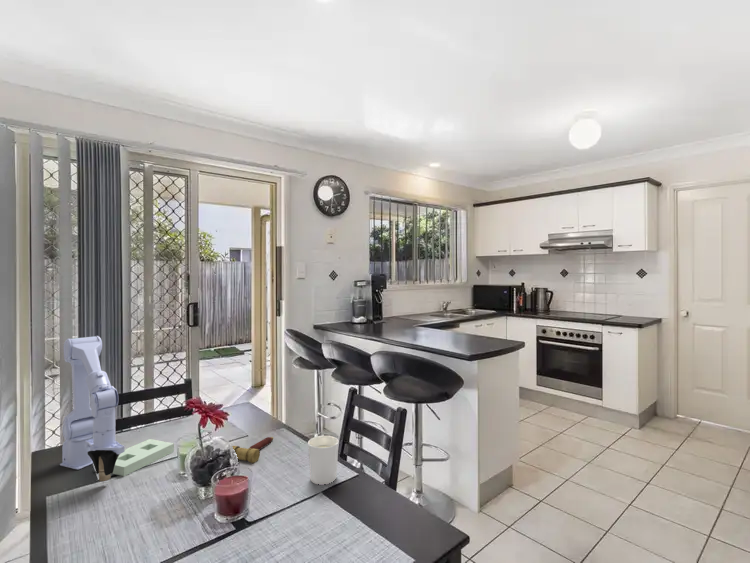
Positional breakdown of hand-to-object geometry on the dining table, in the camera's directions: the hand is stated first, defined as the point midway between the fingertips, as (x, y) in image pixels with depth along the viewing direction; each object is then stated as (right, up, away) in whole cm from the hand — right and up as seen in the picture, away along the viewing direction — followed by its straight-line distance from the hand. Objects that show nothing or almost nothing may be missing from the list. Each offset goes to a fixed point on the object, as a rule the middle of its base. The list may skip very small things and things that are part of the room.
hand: (104, 472), depth 127 cm
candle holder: (+67, -4, +5) cm, 67 cm away
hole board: (0, -4, +18) cm, 18 cm away
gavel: (+40, -5, +26) cm, 48 cm away
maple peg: (0, -2, 0) cm, 2 cm away
